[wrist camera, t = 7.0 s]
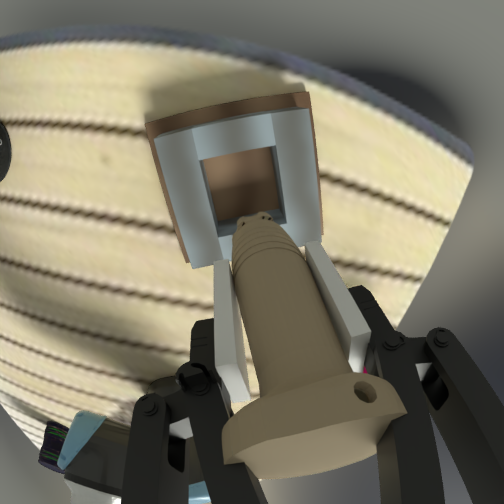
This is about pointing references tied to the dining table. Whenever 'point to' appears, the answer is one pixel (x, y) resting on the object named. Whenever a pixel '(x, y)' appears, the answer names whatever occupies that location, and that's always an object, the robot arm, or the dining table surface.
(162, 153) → the frame
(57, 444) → the storage jar
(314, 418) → the handle
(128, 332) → the dining table surface
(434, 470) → the robot arm
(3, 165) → the milk frother
